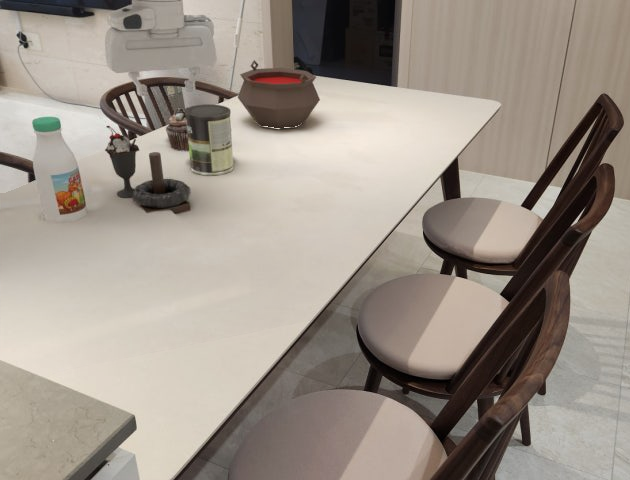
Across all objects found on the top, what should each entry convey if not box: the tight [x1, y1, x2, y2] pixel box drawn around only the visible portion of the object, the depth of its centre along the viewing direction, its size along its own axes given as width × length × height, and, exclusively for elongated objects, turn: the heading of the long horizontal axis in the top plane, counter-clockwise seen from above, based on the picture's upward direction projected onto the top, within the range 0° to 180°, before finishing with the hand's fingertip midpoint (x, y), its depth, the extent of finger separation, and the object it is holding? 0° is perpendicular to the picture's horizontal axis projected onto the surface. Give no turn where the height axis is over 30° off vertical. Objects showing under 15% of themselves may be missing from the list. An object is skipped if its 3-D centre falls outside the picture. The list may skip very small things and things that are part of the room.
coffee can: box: [184, 103, 235, 176], centre depth 150 cm, size 10×10×14 cm
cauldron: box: [237, 59, 321, 128], centre depth 185 cm, size 24×24×16 cm
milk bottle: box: [31, 116, 88, 223], centre depth 120 cm, size 8×8×20 cm
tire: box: [133, 178, 192, 208], centre depth 131 cm, size 11×11×3 cm
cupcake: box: [165, 106, 189, 151], centre depth 164 cm, size 10×10×10 cm
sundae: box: [104, 125, 140, 199], centre depth 134 cm, size 7×7×15 cm
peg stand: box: [131, 151, 191, 214], centre depth 129 cm, size 9×9×12 cm
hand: (166, 92), depth 123 cm, fingers open, 8 cm apart
